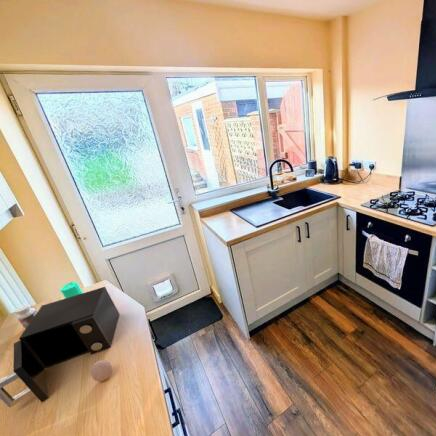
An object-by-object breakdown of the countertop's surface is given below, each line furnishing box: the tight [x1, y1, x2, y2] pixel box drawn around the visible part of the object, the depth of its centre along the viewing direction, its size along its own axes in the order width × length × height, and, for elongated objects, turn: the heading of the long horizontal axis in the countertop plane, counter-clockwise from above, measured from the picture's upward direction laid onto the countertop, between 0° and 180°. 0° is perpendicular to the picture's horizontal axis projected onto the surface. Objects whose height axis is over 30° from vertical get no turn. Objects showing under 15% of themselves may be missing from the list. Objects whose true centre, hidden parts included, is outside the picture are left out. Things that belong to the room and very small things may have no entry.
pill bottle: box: [15, 304, 38, 330], centre depth 100 cm, size 5×5×10 cm
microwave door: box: [0, 339, 50, 408], centre depth 73 cm, size 7×14×15 cm, turn 47°
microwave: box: [18, 286, 121, 370], centre depth 89 cm, size 18×20×15 cm
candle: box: [59, 281, 84, 299], centre depth 109 cm, size 6×6×12 cm
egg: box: [90, 359, 113, 382], centre depth 77 cm, size 5×5×7 cm
